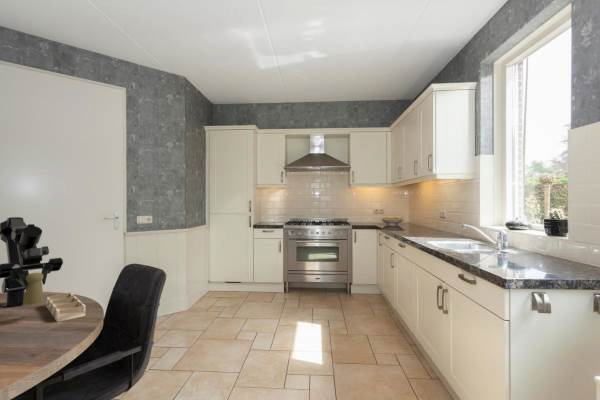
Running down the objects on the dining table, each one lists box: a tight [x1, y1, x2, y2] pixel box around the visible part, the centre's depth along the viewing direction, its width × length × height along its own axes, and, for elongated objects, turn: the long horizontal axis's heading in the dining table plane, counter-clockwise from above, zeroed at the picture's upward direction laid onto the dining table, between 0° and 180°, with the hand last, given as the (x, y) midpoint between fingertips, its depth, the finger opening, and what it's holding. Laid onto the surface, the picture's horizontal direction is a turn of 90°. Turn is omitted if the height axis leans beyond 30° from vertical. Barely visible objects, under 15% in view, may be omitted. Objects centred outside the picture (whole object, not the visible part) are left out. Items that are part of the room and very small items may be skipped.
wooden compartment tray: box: [45, 292, 86, 323], centre depth 122 cm, size 25×9×4 cm, turn 48°
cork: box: [23, 272, 45, 306], centre depth 112 cm, size 6×6×11 cm
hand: (35, 285), depth 112 cm, fingers closed on cork, 5 cm apart
